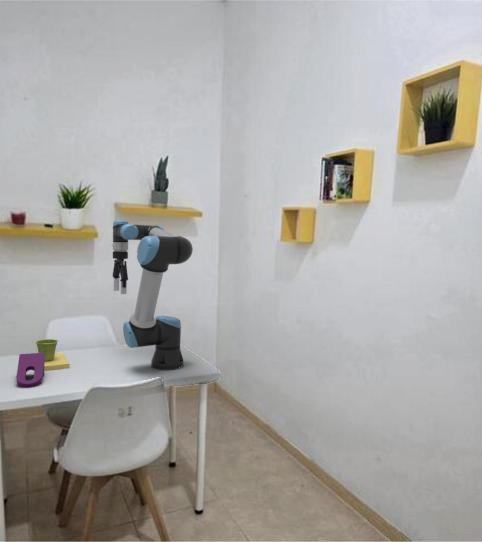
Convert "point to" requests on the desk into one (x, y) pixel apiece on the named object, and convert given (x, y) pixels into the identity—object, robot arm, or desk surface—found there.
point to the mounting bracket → (30, 363)
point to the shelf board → (57, 362)
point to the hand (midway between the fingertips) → (119, 292)
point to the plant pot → (47, 348)
